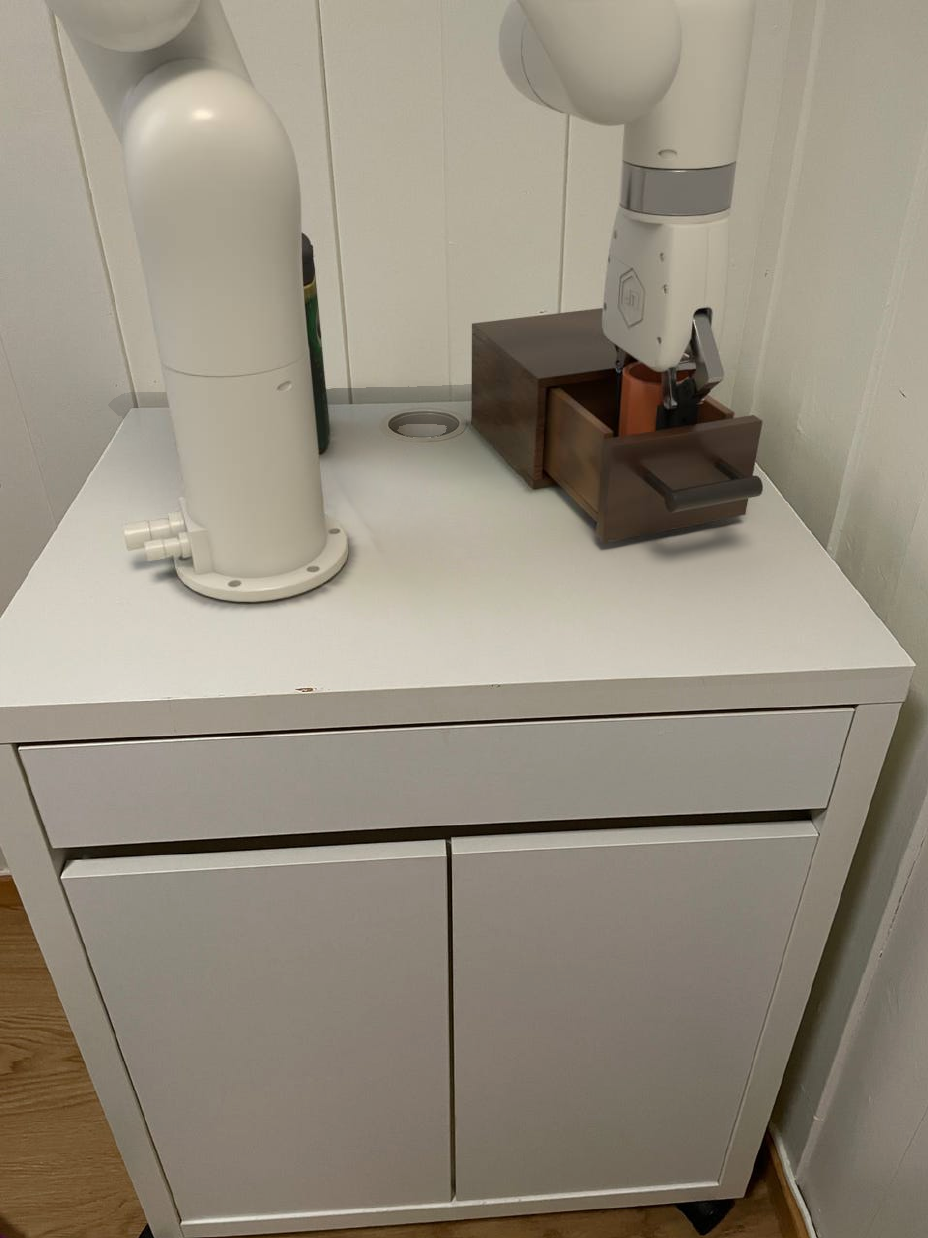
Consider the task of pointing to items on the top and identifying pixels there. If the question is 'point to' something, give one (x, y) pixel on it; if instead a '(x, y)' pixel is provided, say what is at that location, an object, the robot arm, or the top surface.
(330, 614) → the top surface
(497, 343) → the cabinet
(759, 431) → the drawer
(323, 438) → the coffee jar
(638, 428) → the cup
